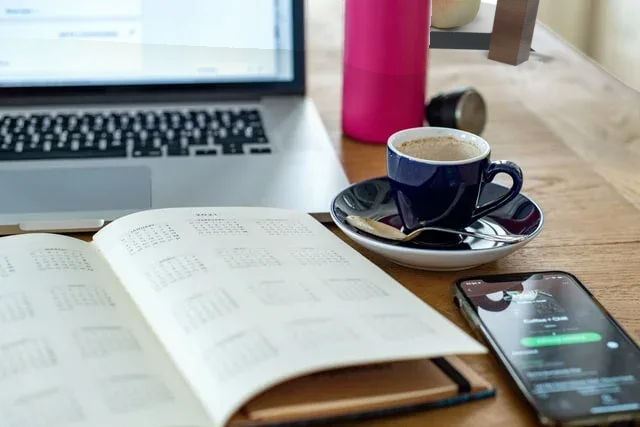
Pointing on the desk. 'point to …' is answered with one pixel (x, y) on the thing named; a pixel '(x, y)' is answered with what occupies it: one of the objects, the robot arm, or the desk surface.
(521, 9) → the shelf stand
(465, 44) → the mat
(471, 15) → the apple
